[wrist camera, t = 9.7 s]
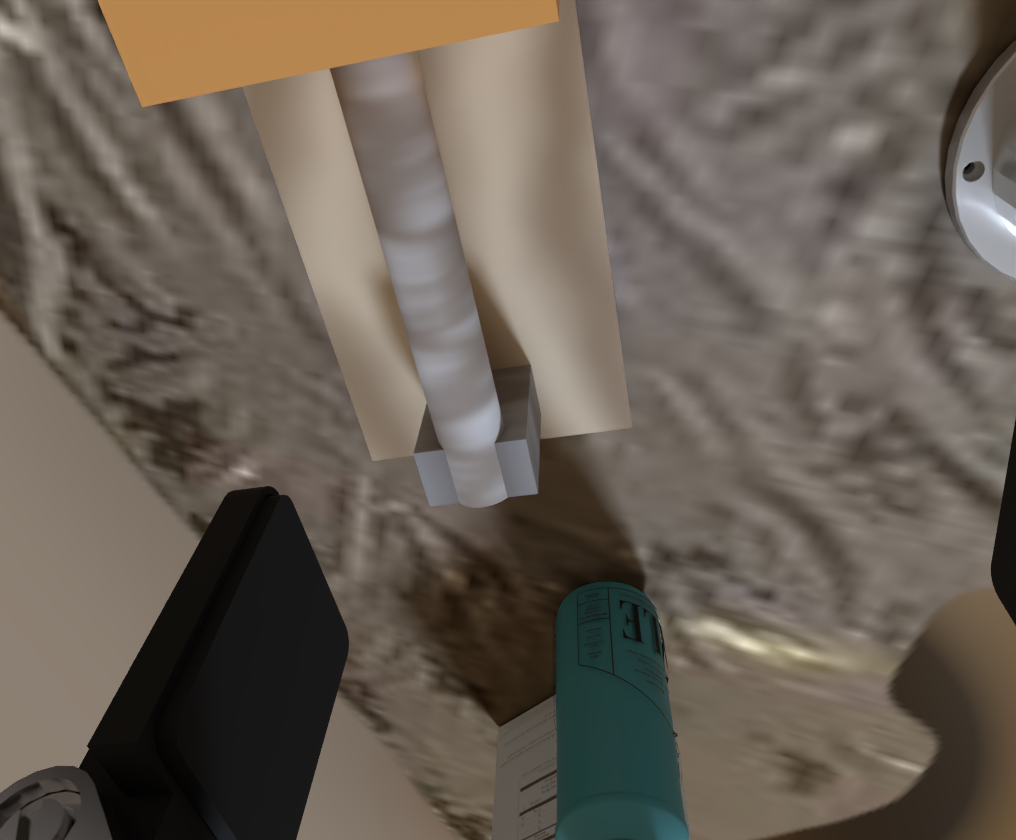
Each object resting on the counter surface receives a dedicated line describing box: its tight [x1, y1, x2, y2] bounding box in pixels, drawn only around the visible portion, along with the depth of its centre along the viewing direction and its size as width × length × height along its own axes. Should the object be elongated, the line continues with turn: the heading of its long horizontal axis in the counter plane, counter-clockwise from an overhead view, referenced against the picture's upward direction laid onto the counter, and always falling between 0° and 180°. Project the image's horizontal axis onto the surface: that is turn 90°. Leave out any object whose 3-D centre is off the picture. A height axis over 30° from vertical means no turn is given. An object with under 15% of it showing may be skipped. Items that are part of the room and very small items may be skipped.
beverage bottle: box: [553, 582, 689, 840], centre depth 42 cm, size 6×7×20 cm
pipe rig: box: [242, 0, 632, 508], centre depth 33 cm, size 14×29×9 cm, turn 11°
